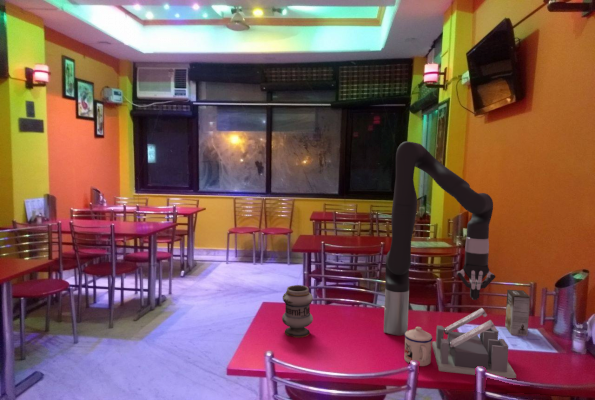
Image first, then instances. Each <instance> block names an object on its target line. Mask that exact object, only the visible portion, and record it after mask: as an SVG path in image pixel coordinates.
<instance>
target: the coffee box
mask: <svg viewBox="0 0 595 400" xmlns="http://www.w3.org/2000/svg"><path fill="white" fill-rule="evenodd" d="M506 291H507V293H506V304H505V305H506V307H505V324H504V325H505V326H504V327H505V329H507V331H508V332H509V334H510V335H512V336H522V337H528V332H529V315H530V303H531V296H530V295H528V294H527V293H526V292H525V291H524V290H520V289H519V290H518V289H506Z"/></svg>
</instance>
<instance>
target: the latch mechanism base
mask: <svg viewBox="0 0 595 400" xmlns="http://www.w3.org/2000/svg"><path fill="white" fill-rule="evenodd" d="M443 328H444V326H443V325H436V332H435V334H436V335H435V341H432V342H431V348H432V351H433V353H434V356H435V361H436V365H437V367H438V368H437V369H438V371H439V372H444V373H445V372H446V373H452V374H453V373H455V374H462V375H463V374H464V375H472V376H476V375H475V368H476V367H477V366H483V367H485V368H486V370H487V372H489V373H492V374H495V375H499V376H503V377H507V378H516V379H517V373H516V372H515V371H514V369H513V368H512V366H511V364H510V363H509V361H508V360H509V345H508V343H507V342H506V341H505V339H504V338H499V330H498V328H496V329H494V330H492V328H490V329H488V330H486V331H484V332H482V333H480V334H478V335H476V336H474V337H472V338H471V339H469V340H467V341H465V342H463V343H461V344H459V345H457V346H455V347H454V348H453V349H451V348H450V346H449V343H448V342H449V341H452V340H453V339H455V338H457V337H459V336H461V335H463V334H465V333H466V332H459V331H451V332H450V333H449V334H447V338H444V337H445V335H444V334H445V333H444V329H443ZM507 378H506V379H507Z"/></svg>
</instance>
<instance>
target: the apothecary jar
mask: <svg viewBox="0 0 595 400" xmlns="http://www.w3.org/2000/svg"><path fill="white" fill-rule="evenodd" d="M309 290H310V289H309V287H308V286H306V285H303V284H297V285H296V284H294V285H289V286H287V288H286V291H285V292H284V293H283V295H282V301H283V302H284V304H285V312H284V313H283V314H282V317H281V320H282V321H281V322H282V323H283V324H284V325H286V326H287V328H285V330H284V334H285V335H286V336H288V337H292V338H304V337H308V336H309V335H310V330H309V328H306V327H308V326H310V325H311V324H312V323H313V321H314V317H313V315H312V314H311V311H310V309H311V308H310V306H311V305H310V304H311V303H312V302H313V300H314V297H313V295H312V294H311V292H309Z"/></svg>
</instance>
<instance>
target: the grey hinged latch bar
mask: <svg viewBox="0 0 595 400" xmlns="http://www.w3.org/2000/svg"><path fill="white" fill-rule="evenodd" d="M481 316H483V318H486V317H487V316H488V314H487V312H486V311H485V309H483V308H482V307H480V308H479V309H478V310H475V311H473V312H472V313H469V314H468V315H466V316H465V317H462V318H461V319H459V320H457V321H455V322H454V323H451V324H450V325H448V326H443V329H444V334H445V335H448V334H449V333H450V332H454V331H455V330H457V329H459V328H460V327H463V326H464V325H466V324H468V323H470V322H472V321H473V320H475V319H477V318H479V317H481Z"/></svg>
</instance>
